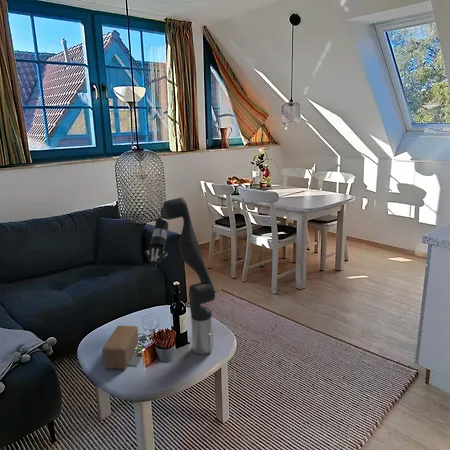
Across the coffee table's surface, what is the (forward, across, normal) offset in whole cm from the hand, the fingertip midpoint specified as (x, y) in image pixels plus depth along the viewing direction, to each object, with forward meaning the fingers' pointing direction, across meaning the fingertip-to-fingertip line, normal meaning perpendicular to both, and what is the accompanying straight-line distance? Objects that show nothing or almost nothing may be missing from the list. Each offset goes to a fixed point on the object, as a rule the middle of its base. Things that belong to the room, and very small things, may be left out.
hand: (152, 268), depth 204 cm
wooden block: (+33, -6, +1) cm, 34 cm away
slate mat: (+44, -4, -1) cm, 44 cm away
